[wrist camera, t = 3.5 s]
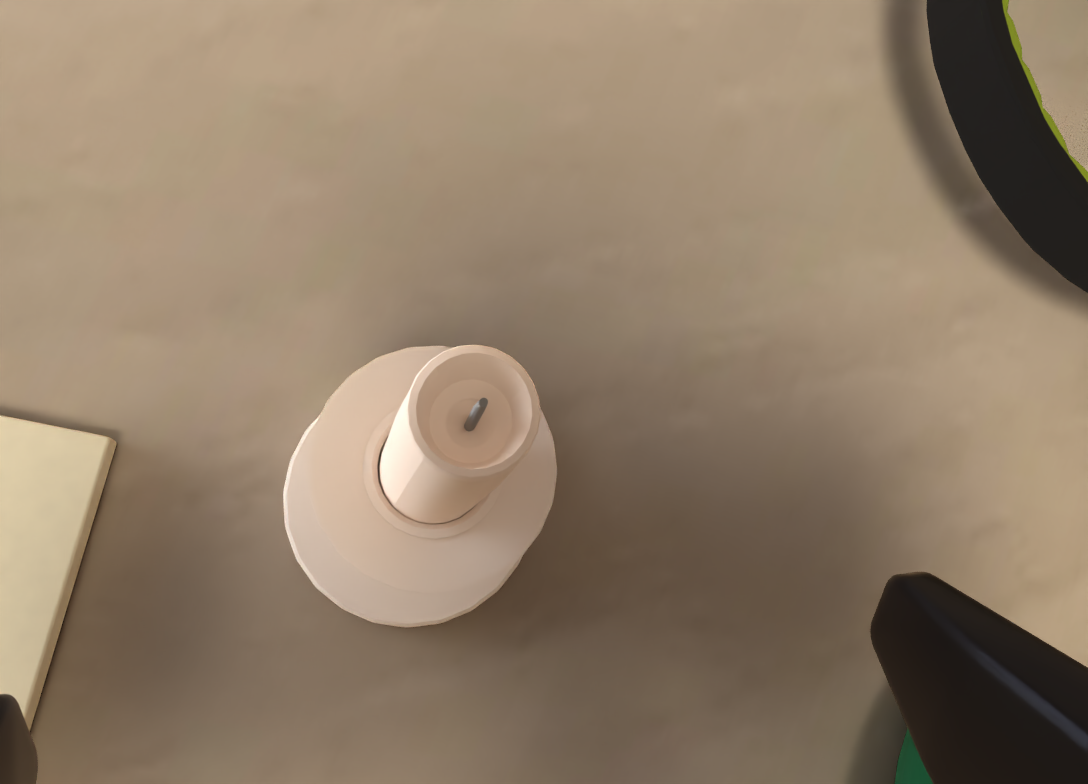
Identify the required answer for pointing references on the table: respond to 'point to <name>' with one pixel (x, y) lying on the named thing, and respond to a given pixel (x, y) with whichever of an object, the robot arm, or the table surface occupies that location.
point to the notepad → (42, 542)
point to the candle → (421, 484)
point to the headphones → (1010, 131)
